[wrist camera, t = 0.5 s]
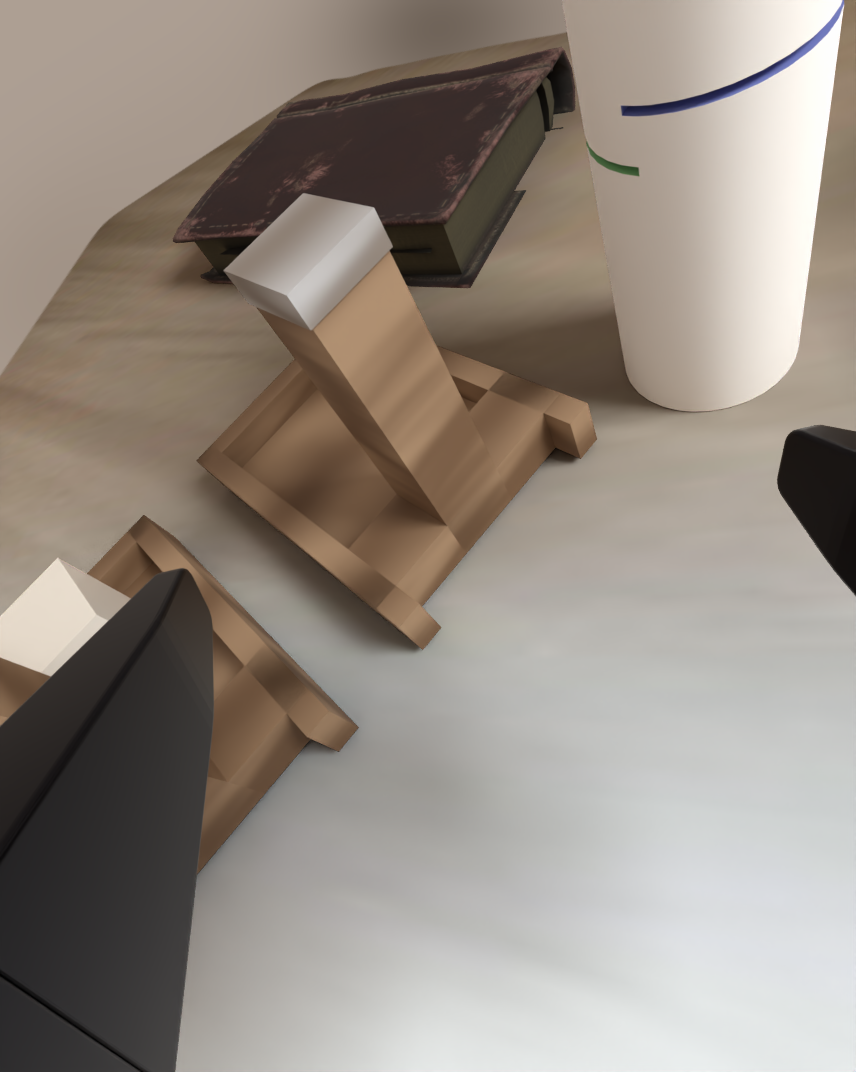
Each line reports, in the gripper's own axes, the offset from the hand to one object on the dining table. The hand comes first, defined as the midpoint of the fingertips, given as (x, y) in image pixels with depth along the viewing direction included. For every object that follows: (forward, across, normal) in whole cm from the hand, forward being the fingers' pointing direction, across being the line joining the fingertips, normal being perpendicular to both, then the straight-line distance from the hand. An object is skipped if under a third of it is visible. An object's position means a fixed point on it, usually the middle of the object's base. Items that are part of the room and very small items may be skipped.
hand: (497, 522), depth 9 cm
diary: (+45, -3, +2) cm, 45 cm away
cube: (+16, +16, +15) cm, 27 cm away
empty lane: (+21, +1, +10) cm, 23 cm away
